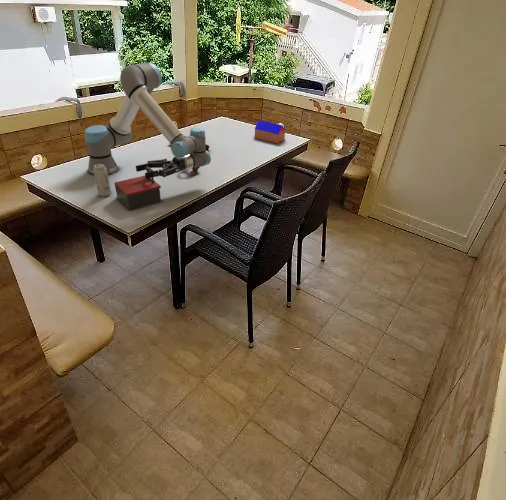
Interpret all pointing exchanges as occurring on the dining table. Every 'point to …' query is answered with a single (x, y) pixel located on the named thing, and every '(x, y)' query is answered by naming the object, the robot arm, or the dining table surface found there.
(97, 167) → the energy drink can
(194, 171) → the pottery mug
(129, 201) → the dark gray box
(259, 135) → the house
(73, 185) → the dining table surface
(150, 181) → the lid
